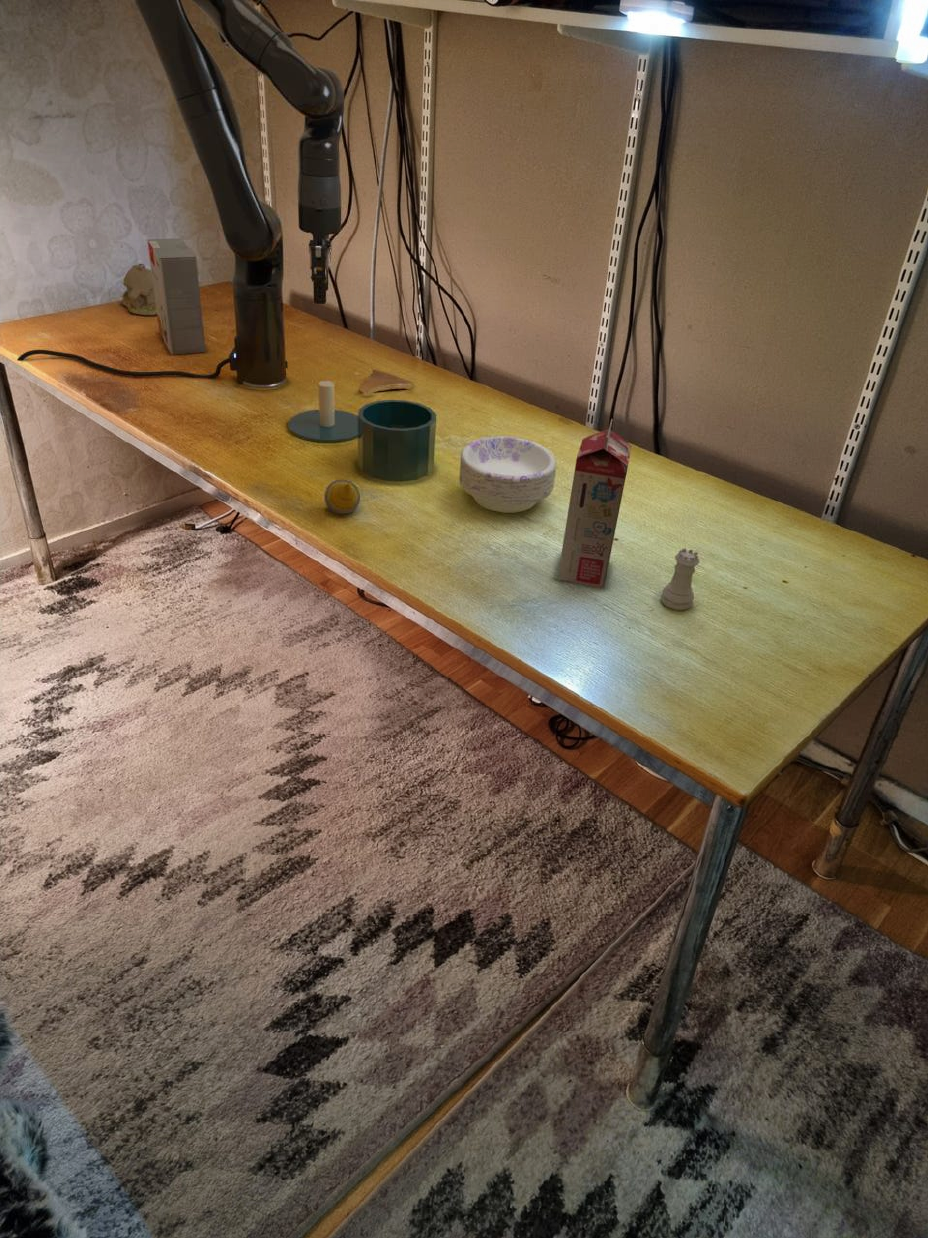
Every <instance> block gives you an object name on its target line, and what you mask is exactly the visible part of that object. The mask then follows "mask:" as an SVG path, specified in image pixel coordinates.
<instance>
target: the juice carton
mask: <svg viewBox="0 0 928 1238" xmlns="http://www.w3.org/2000/svg"><path fill="white" fill-rule="evenodd" d="M612 424H613V418H611V419H610V422H609V426H608V429H607V430H603V431H600V432H597V433H594V434H590V435H587V436H586V437H583V438H582V439H581V443H580V446H579V450H578V452H577V456H576V460H575V466H574V472H573V477H572V478H573V479H572V484H571V490H570V491H571V493H570V498H569V503H568V509H567V516H566V522H565V527H564V528H565V529H564V536H563V541H562V548H561V555H560V560H559V565H558V566H559V567H558V572H557V577H556V578H557V579H556V580H558V581H563V582H564V581H565V582H568V583H569V582H570V583H573V584H574V583H575V584H580V585H584V586H585V585H586V586H592V587H597V588H601V589H602V588H603V589H605V585H606V579H607V574H608V569H609V565H610V564H609V563H610V559H611V554H612V548H613V543H614V539H615V534H616V529H617V524H618V518H619V513H620V507H621V503H622V498H623V493H624V489H625V483H626V479H627V473H628V470H629V469H628V467H629V462H630V458H631V451H632V445H631V444H630V443H629V442H628V441H626V440H625V439H623V438H622V437H620V436H619V435H618V434H616V433H615V432H614V431H612Z"/></svg>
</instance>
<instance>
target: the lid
mask: <svg viewBox="0 0 928 1238" xmlns="http://www.w3.org/2000/svg"><path fill="white" fill-rule="evenodd" d="M317 387H318V409H312V410H306V411H302V412H299V413H297V414H295V415H293V416H292V417H291V418H290V419H289V420H288V422H287V428H288V430H289V432H290V433H291V434H292V435H293V436H295V437H296V438H299V439H301V440H304V441H308V442H314V443H321V444H322V443H323V444H332V443H333V444H335V443H344V442H349V441H352V440H355V439H358V414H356V413H355V414H354V413H352V412H349V411H345V410H340V409H335V408H336V406H335V404H336V401H335V400H336V399H335V397H336V395H335V383H334V382H333V381H331V380H321V381H319V382H318V384H317Z"/></svg>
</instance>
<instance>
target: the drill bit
mask: <svg viewBox="0 0 928 1238" xmlns="http://www.w3.org/2000/svg"><path fill="white" fill-rule="evenodd" d="M323 496H324V502H325V505H326V507H327V508H328V509H329V511H331V512H333V514H337V515H340V516H345V515H349V514H352V513H353V512H354V511H355V510H356V509H357V507H358V506H359V504H360V502H361V501H360V500H361V494H360V489H358V487H357V485H356V484H355V483H354V482H353V481H350V480H348V479H342V478H340V479H335V480H333V481H331V482H330V483H329V484H328V485H327V487H326V489H325V491H324V495H323Z"/></svg>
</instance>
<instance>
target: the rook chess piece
mask: <svg viewBox="0 0 928 1238" xmlns="http://www.w3.org/2000/svg"><path fill="white" fill-rule="evenodd" d="M674 559H675V561H676V564H675V565H674V566H673V567H674V571H673V572H674V573H673V574H672V577H671V580H670V582H668V583H667V585H665V586H664V588H663V589H662V594H661V595H660V600H661V602H662V604H663V605H664V606H665V607H667V608H668V609H671V610H674V611H686V610H688V609H690V608H691V607H692V606H693V605H694V602H693V601H694V599H695V594H694V590H693V587H692V583H693V582H692V581H693V577H694V576H693V574H695V573H696V568H695V567H696V566H698V565H699V564H700V558H699V553H698V551H694V549H692V548H689V550H688V549H687V548H686V547H684V548H682V549H679V551H678V553H676V554H675V556H674Z"/></svg>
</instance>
